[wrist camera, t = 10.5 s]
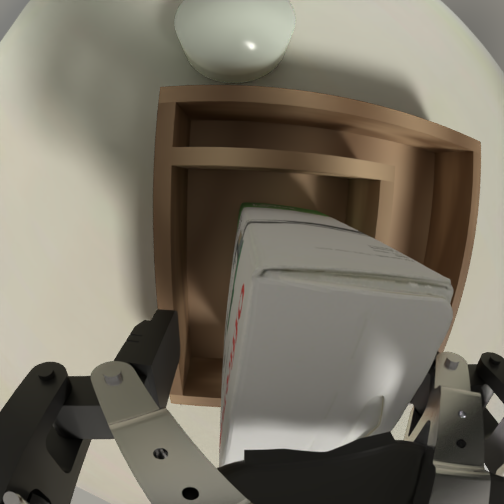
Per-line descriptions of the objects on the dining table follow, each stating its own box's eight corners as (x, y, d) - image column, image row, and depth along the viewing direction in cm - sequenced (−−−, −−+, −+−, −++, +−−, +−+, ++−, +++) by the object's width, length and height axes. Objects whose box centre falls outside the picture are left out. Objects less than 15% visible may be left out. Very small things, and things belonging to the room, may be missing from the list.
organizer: (439, 145, 16) (480, 141, 11) (403, 353, 20) (429, 384, 15) (179, 109, 15) (160, 87, 10) (182, 361, 19) (171, 403, 14)
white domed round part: (285, 10, 13) (294, -17, 10) (284, 87, 15) (295, 66, 11) (190, 8, 13) (183, -20, 9) (180, 84, 14) (166, 63, 11)
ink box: (239, 198, 16) (242, 248, 4) (323, 211, 16) (468, 277, 5) (223, 331, 18) (212, 496, 6) (296, 338, 18) (348, 489, 7)
